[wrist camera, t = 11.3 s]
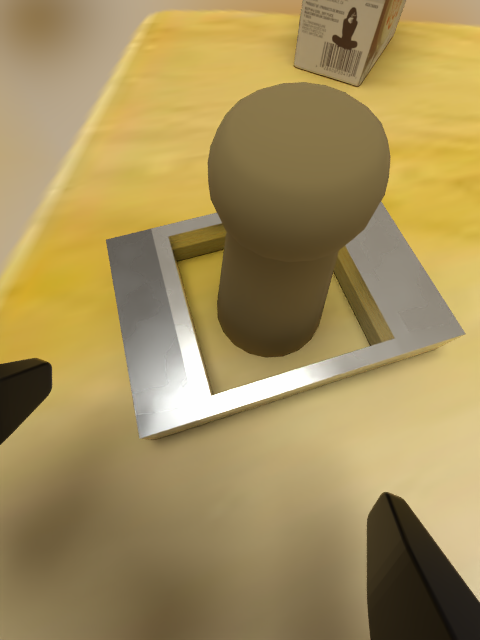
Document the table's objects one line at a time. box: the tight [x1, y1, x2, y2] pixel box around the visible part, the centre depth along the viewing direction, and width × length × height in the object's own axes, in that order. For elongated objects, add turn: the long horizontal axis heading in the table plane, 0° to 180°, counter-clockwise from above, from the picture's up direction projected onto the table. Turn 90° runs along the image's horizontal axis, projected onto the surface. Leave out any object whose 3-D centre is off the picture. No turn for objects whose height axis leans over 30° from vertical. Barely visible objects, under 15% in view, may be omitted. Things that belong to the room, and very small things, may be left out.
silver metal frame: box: [106, 202, 465, 440], centre depth 17 cm, size 16×11×2 cm
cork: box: [208, 82, 390, 357], centre depth 13 cm, size 6×6×11 cm
